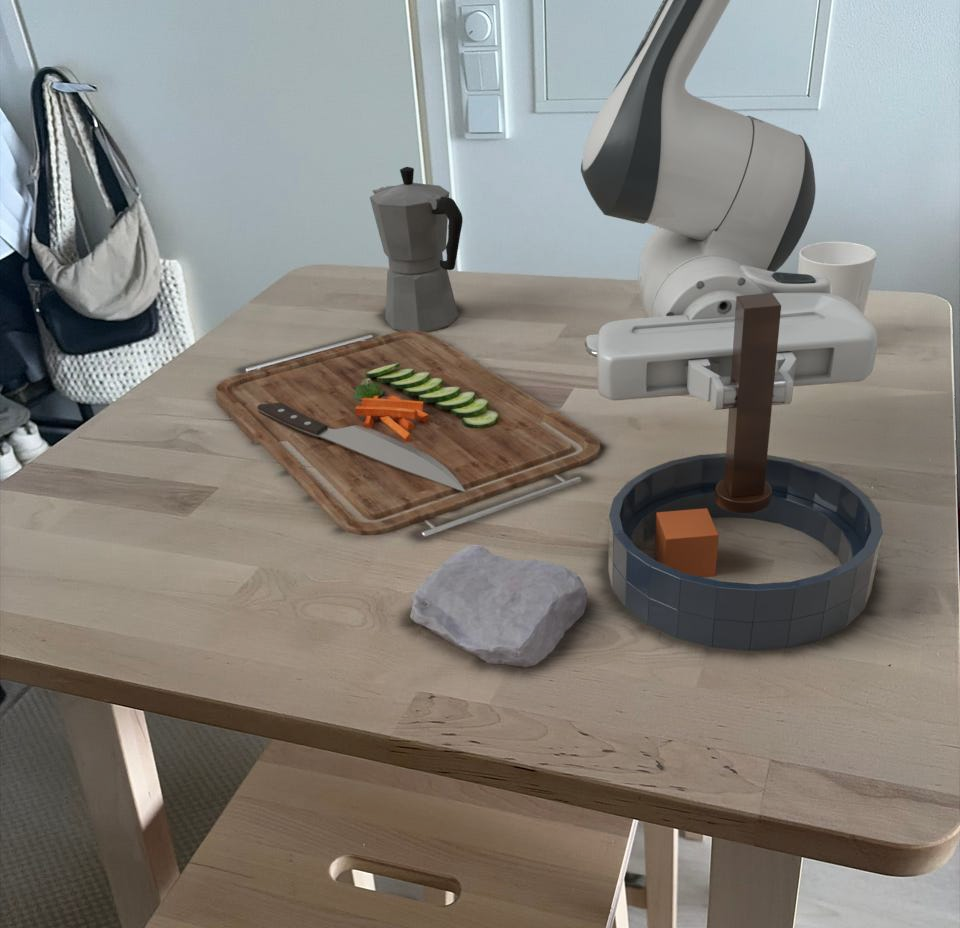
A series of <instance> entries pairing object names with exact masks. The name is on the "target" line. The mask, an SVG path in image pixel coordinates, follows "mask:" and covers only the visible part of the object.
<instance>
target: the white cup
mask: <svg viewBox="0 0 960 928" xmlns="http://www.w3.org/2000/svg"><path fill="white" fill-rule="evenodd" d="M877 254H878V253H877V251H876V250H875V249H873V248H872V247H871V246H868V245H865V244H861V243H856V242H851V241H822V242H815V243H811V244H808V245H805V246H803V247H802V248H801V249H800V250H799V251H798V259H797V260H798V261H797V262H798V264H797V274H808V275H819V276H823V277H825V278H827V279H828V280H829V281H830V285H831V294H834V295H837V296H840V297H842V298H844V299H846V300H848V301H849V302H851V303H852V304H853V305H854V306H855V307H857V308H858V309H859V310H860V311H861V312H862V313H863V314H864V315H865V309H866V305H867V302H868V298H869V293H870V288H871V282H872V280H873V279H872V278H873V274H874V269H875V265H876V260H877Z"/></svg>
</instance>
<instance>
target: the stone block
mask: <svg viewBox="0 0 960 928" xmlns="http://www.w3.org/2000/svg"><path fill="white" fill-rule="evenodd" d="M587 604H588V591H587V588H586V587H585V585H584V582H583V581H582V579H581V577H580V575H579V574H577V572H575V571H573V570H572V569H569V568H566V567H565V566H564V565H562V564H559V563H558V564H557V563H554V562H547V561H543V560H537V559H534V558H533V559H526V560H515V559H509V558H507V557H505V556H503V555H499V554H495V553H493V552H491V551H490V550H489V549H487V548H486V547H484V546H483V545H480V544H471V545H468V546H466V547H465V548H462V549H461V550H460V551H458V552H457V553H454V554H452V555H451V556H450V557H448V558H447V559H446V560H445V561H444V562H442V563H441V564H440V565H439V566H437V568H435V570H433V571H432V572H430V574H429V575H427V576H426V577H425V579H424V580H423V581H422V583H421V584H420V585H419V587H418V588H417V589H416V590H415V592H414V593H413V594H412V597H411V612H410V614H409V617H410V619H411V620H412V622H414V623H415V624H418V625H419V626H422V627H425V628H427V629H429V631H430V632H431V633H434V634H435V635H436V636H440V637H441V638H442V639H444V640H445V641H446V642H449V643H450V644H451V645H454V646H455V647H456V648H459V649H461V650H463V651H465V652H466V653H468V654H470V655H473V656H474V657H478V658H479V659H480V660H482V661H485V662H486V663H487V664H493V665H494V664H495V665H498V664H499V665H508V666H514V667H521V668H522V667H523V668H531V667H534V666H536V665H538V664H539V663H540V662H542V661H543V660H545V659H546V658H547V657H548V655H549V654H550V653H552V652H553V651H554V650H555V649H556V646H557V645H558V643H559V642H560V640H561V639H563V637H564V636H565V633H566V631H568V630H569V629H570V628H571V627H572V626H573V625H574V624H575V623H576V622H577V621H579V619H580V618H582V617H583V615H584V614H585V611H586V608H587Z"/></svg>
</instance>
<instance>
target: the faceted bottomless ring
mask: <svg viewBox="0 0 960 928" xmlns="http://www.w3.org/2000/svg"><path fill="white" fill-rule="evenodd" d="M725 461H726V452H722V453H706V454H697V455H692V456H687V457H682V458H678V459H673V460H670V461H669V460H668V461H666V462H664V463H661V464H659V465H656V466H653V467H650V468H648V469H646V470H644V471H642V472H641V473H640V474H638V475H636V476H635V477H633V478H632V479H630V480H629V481H627V482H626V483H624V485H623V486H622V488H621V489H620V490H619V491H618V492H617V494H616V495H615V496H614V497H613V498H612V502H611V506H610V510H609V513H608V563H607V564H608V568H607V569H608V571H607V573H608V576H609V581H610V585H611V590H612V592H613V593H614V595H616V597H617V598H618V600H619V601H620V603H621V604H622V606H623V607H624V608H625V609H626V610H627V611H628V612H629V613H631V614H632V615H634V616H635V617H636V618H637V619H639V620H640V621H642V622H643V623H644V624H646V625H647V626H649V627H651V628H653V629H656V630H658V631H660V632H662V633H665V634H666V635H668V636H670V637H673V638H675V639H678V640H682V641H684V642H690V643H693V644H698V645H701V646H705V647H710V648H714V649H715V648H716V649H725V650H737V651H738V650H739V651H748V652H749V651H752V652H753V651H767V650H781V649H782V650H783V649H790V648H794V647H798V646H801V645H805V644H810V643H813V642H817V641H820V640H823V639H824V638H826V637H828V636H831V635H832V634H835V633H837V632H839V631H841V630H842V629H845V628H846V627H847V626H849V625H850V623H852V622H853V621H854V620H855V619H856V618H858V616H859V615H860V614H861V613H862V612H863V611H864V610H865V608H866V605H867V602H868V600H869V598H870V596H871V593H872V589H873V583H874V578H875V574H876V569H877V564H878V559H879V555H880V549H881V543H882V539H883V534H884V531H883V523H882V522H883V521H882V515H881V513H880V511H879V510H878V508H877V507H876V505H875V503H874V502H873V501H872V499H871V498H870V497H869V495H867V494H866V493H865V492H863V490H861V489H860V488H859V487H857V486H856V484H854V483H852V482H851V481H850V480H848V479H846V478H844V477H842V476H840V475H838V474H836V473H834V472H832V471H830V470H829V469H826V468H823V467H820V466H818V465H817V466H816V465H814V464H810V463H807V462H805V461H800V460H797V459H794V458H787V457H783V456H782V457H780V456H775V455H770V454H767V465H766V475H765V481H766V482H767V483H768V484H769V485H770V486H771V489H772V492H771V501H770V504H769V505H768V507H766V508H765V509H763V510H761V511H759V512H755V513H747V514H741V513H733V512H729V511H727V510H724V509H722V508H721V507H720V506H718V504H717V503H716V500H715V494H716V486H717V484H718V483H719V482H720V481H722V480H723V479H724V476H725ZM704 508H707V509H708V511H709V514H710V516H711V518H712V519H721V518H735V519H749V520H750V519H751V520H758V521H763V522H768V523H773V524H778V525H782V526H784V527H788V528H790V529H792V530H796V531H799V532H801V533H804V534H805V535H807V536H809V537H811V538H812V539H814V540H816V541H817V542H818V543H821V544H822V545H824V546H825V547H826V548H827V549H828V550H829V551H830V552H832V554H834V556H836V557H837V559H838V561H839V563H840V564H841V565H838V566H837V567H835V568H832V569H830V570H828V571H826V572H824V573H821V574H817V575H813V576H809V577H805V578H800V579H797V580H792V581H781V582H767V583H765V582H764V583H748V582H747V583H746V582H734V581H733V582H732V581H720V580H716V579H711V578H707V577H699V576H694V575H690V574H685V573H683V572H680V571H678V570H676V569H673V568H671V567H668V566H666V565H663V564H661V563H658V561H657V560H655V559H654V558H652V557H651V556H649V555H648V554H646V553H645V552H643V551H642V550H641V548H642V546H643V544H645V543H646V542H648V541H649V540H650V539H652V538H653V537H654V536H655V533H656V513H657V512H667V511H680V510H692V509H704Z"/></svg>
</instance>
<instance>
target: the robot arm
mask: <svg viewBox="0 0 960 928" xmlns="http://www.w3.org/2000/svg"><path fill="white" fill-rule="evenodd" d="M730 2H731V0H662V2H661V4H660V6H659V8H658V10H657V11H656V12H655V15H654V17H653V19H652V21H651V22H650V25H648V28H647V30H646V32H645V34H644V36H643V38H642V40H641V42H640V43H639V45H638V47H637V49H636V51H635V53H634V55H633V57H632V58H631V60H630V62H629V63H628V65H627V67H626V69H625V71H624V72H623V73H622V75H621V77H620V78H619V80H618V82H617V84H616V85H615V87H614V88H613V91H612V92H611V93H610V95H609V96H608V98H607V99H606V101H605V102H604V103H603V105H602V106H601V108H600V110H598V113H597V115H596V117H595V118H594V120H593V122H592V124H591V126H590V128H589V131H588V133H587V136H586V139H585V143H584V147H583V151H582V152H583V153H582V160H581V164H580V173H581V176H582V179H583V181H584V183H585V186H586V189H587V190H588V192H589V194H590V196H591V198H592V200H593V202H594V203H595V204H596V206H597V207H598V208H599V210H600V211H601V213H602V214H603V215H604V216H608V217H612V218H615V219H616V218H617V219H620V220H624V221H629V222H634V223H637V224H643V225H644V224H648V225H650V226H655V227H657V229H655V231H653V232H651V233H652V234H650V236H649V237H648V238H647V240H646V242H645V243H644V245H643V247H642V249H641V253H640V255H639V260H638V265H637V286H638V287H637V288H638V293H639V298H640V302H641V305H642V307H643V310H644V312H645V315H646V317H638V318H626V319H625V318H624V319H618V320H613V321H609V322H607V323H605V324H604V325H602V326H601V328H600V329H599V330H598V331H599V332H598V333H594V334H588V335H587V336H586V337H585V340H584V347H585V351H586V352H587V355H588V356H589V357H590V358H592V359H595V360H596V386H597V392H598V394H599V396H601V397H603V398H605V399H607V400H609V401H629V400H640V399H641V400H642V399H653V398H666V397H667V398H668V397H677V396H688V395H691V396H693V397H695V398H698V399H701V400H704V401H706V402H710V404H711V406H712V408H713V410H715V411H716V410H717V411H718V410H729V408H736V402H737V401H736V399H735V398H736V397H737V385H736V383H735V382H734V379H733V377H732V376H731V370H732V355H733V340H734V325H735V310H736V297H737V296H744V295H755V294H765V293H773V295H774V296H775V297H776V299H777V300H778V302H779V303H780V304H781V315H780V325H779V336H778V347H777V357H776V368H775V379H774V390H773V400H772V406H782V405H791V404H792V401H793V393H794V387H805V386H819V385H829V384H830V385H831V384H843V383H845V384H846V383H857V382H858V383H859V382H862V381H864V380H866V379H867V378H869V376H870V375H871V374H872V372H873V369H874V366H875V362H876V357H877V351H878V342H879V341H878V340H879V338H878V337H879V336H878V331H877V329H876V327H875V325H874V324H873V323H872V322H871V320H869V318H868V317H867V316H866V314H865V313H864V314H863V313H862V312H861V311H860V310H859V309H858V308H857V307H855V306H854V305H853V304H852V303H851V302H849V301H848V300H846V299H844V298H842V297H840V296H837V295H834V294H831V285H830V281H829V280H828V279H827V278H825V277H823V276H819V275H808V274H798V273H792V272H780V271H778V270H779V269H780V268H781V267H782V266H783V265H784V264H785V263H786V262H787V260H788V259H789V257H790V256H791V254H792V253H793V251H794V250H795V249H796V247H797V246H798V244H799V242H800V240H801V238H802V235H803V234H804V232H805V230H806V227H807V225H808V222H809V220H810V218H811V215H812V212H813V208H814V206H815V199H816V190H817V189H816V188H817V187H816V176H815V168H814V162H813V158H812V154H811V151H810V148H809V146H808V144H807V142H806V140H805V138H804V137H803V136H802V135H801V134H797V133H795V132H792V131H790V130H787V129H785V128H782V127H781V126H777V125H775V124H773V123H771V122H767V121H765V120H762V119H759V118H757V117H754V116H751V115H744V114H742V113H739V112H736V111H734V110H731V109H729V108H726V107H724V106H721V105H718V104H716V103H713V102H710V101H707V100H705V99H702V98H699V97H697V96H695V95H693V94H691V93H690V92H689V91H688V90H687V87H686V82H687V80H688V77H689V75H690V74H691V72H692V70H693V68H694V67H695V64H696V63H697V61H698V59H699V57H700V55H702V52H703V51H704V48H705V47H706V45H707V43H708V41H709V39H710V38H711V36H712V34H713V32H714V30H715V29H716V27H717V25H718V23H719V21H720V20H721V18H722V16H723V14H724V12H725V11H726V9H727V7H728V5H729V3H730Z"/></svg>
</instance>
